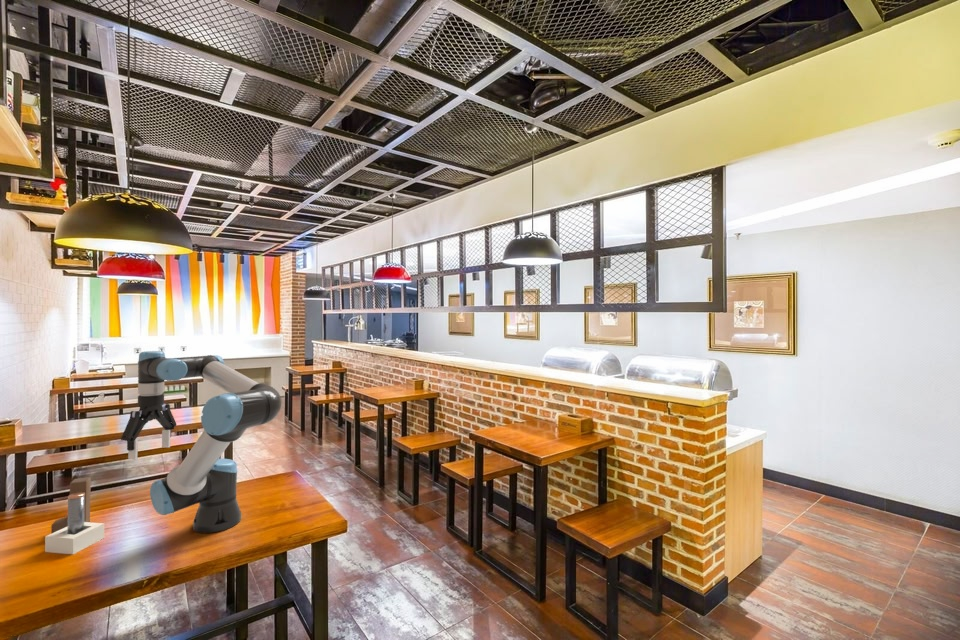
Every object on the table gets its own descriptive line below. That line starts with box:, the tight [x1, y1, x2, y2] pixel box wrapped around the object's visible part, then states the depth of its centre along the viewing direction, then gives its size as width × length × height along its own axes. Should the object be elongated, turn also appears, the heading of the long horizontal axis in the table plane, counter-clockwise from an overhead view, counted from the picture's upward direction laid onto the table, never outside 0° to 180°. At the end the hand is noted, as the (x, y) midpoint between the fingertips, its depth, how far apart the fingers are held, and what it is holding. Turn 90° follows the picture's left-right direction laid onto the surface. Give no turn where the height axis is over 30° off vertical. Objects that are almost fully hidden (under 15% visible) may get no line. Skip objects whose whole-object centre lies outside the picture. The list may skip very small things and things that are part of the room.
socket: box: [44, 521, 105, 555], centre depth 139 cm, size 10×10×5 cm
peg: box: [67, 492, 85, 535], centre depth 139 cm, size 4×4×17 cm
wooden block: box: [50, 476, 92, 534], centre depth 147 cm, size 9×4×18 cm, turn 118°
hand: (150, 453), depth 152 cm, fingers open, 13 cm apart
